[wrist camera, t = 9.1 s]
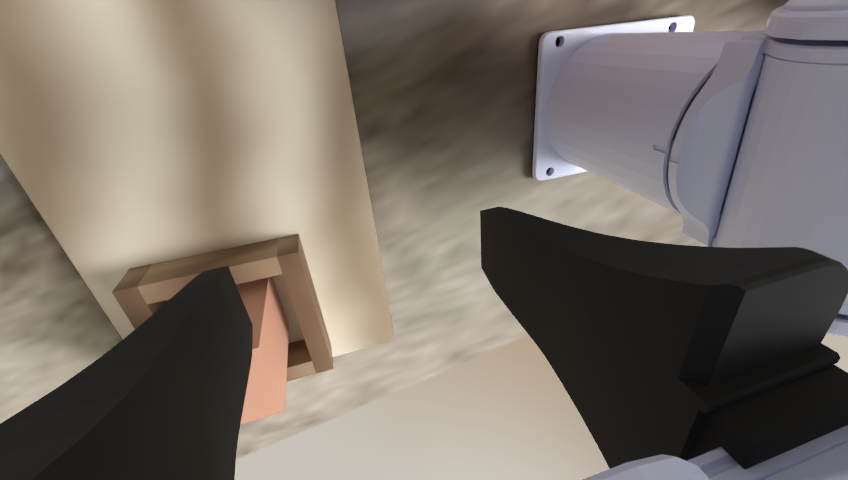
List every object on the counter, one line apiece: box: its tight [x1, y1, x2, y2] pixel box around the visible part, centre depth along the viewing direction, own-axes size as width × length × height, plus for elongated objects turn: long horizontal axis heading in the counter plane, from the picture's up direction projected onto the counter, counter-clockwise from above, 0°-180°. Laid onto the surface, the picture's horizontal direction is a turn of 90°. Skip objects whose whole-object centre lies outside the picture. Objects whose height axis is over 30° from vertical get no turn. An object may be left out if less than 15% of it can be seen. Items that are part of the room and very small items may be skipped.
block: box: [236, 277, 289, 424], centre depth 18 cm, size 4×4×6 cm
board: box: [0, 0, 395, 382], centre depth 18 cm, size 14×20×3 cm
